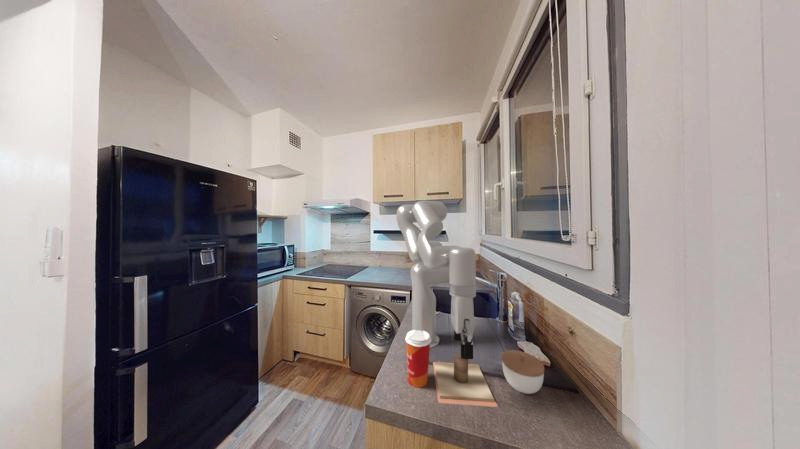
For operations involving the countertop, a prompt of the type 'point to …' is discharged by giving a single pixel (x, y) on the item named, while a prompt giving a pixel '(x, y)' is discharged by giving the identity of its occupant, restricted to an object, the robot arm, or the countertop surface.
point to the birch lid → (462, 381)
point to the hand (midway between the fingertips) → (462, 348)
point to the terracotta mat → (462, 402)
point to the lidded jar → (523, 371)
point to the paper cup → (417, 357)
